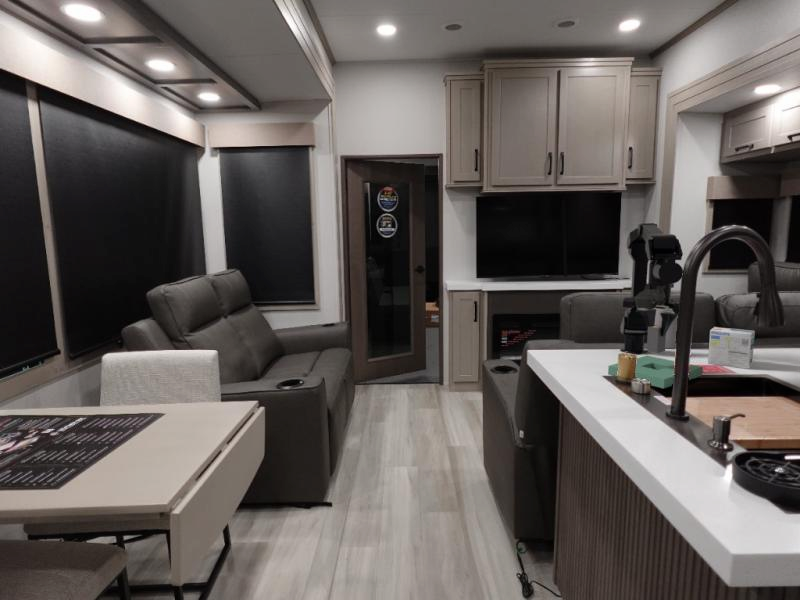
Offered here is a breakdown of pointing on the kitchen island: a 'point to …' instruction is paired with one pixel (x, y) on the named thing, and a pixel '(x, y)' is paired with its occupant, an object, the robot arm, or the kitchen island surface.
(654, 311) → the robot arm
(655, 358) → the socket board
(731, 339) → the light bulb box
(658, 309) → the pillar candle
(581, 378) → the kitchen island surface
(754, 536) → the kitchen island surface
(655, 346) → the plug block
